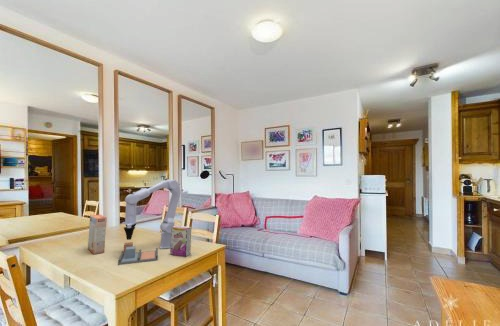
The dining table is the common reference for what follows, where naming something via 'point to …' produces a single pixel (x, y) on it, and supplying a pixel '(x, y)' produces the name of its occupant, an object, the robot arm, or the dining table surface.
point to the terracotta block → (127, 245)
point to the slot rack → (139, 257)
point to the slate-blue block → (130, 252)
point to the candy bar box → (180, 241)
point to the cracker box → (97, 234)
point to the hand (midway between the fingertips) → (129, 237)
